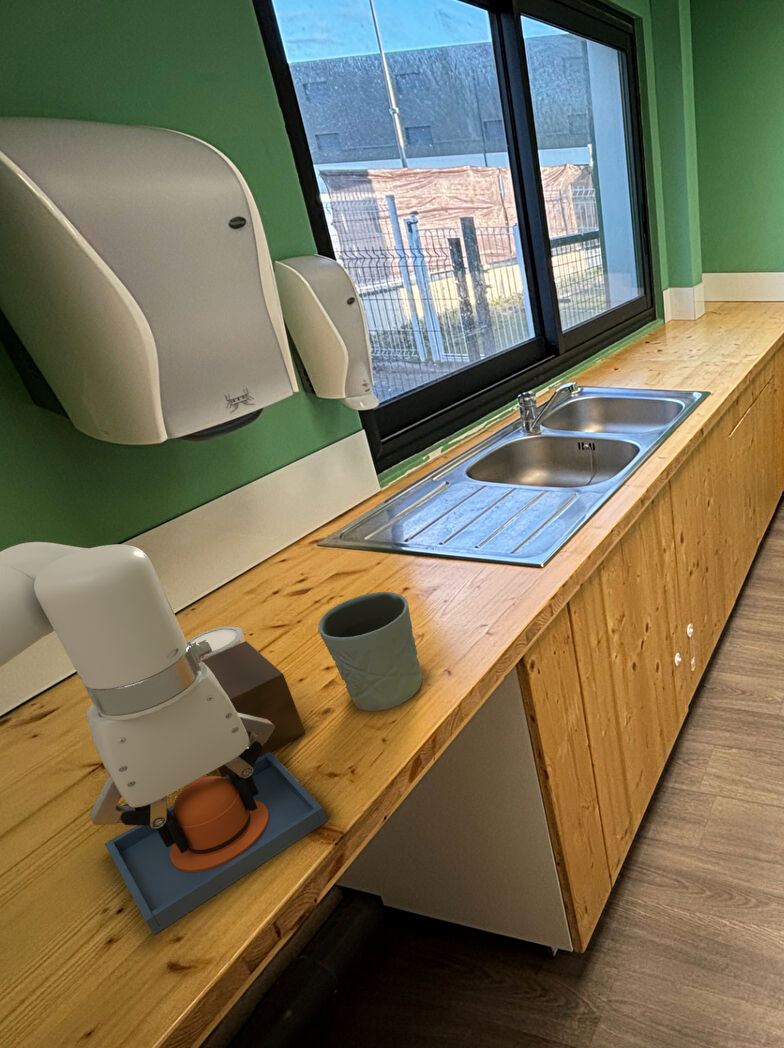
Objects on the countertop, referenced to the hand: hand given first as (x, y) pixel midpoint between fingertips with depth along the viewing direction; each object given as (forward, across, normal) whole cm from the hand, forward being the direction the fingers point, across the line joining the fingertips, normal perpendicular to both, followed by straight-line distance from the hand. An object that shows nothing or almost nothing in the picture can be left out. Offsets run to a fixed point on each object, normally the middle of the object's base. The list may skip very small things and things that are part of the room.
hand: (215, 822), depth 70 cm
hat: (+2, 0, 0) cm, 2 cm away
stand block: (+2, -7, -15) cm, 17 cm away
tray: (+2, 0, 0) cm, 2 cm away
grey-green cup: (+3, -22, -9) cm, 24 cm away
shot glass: (+3, -10, -28) cm, 29 cm away
